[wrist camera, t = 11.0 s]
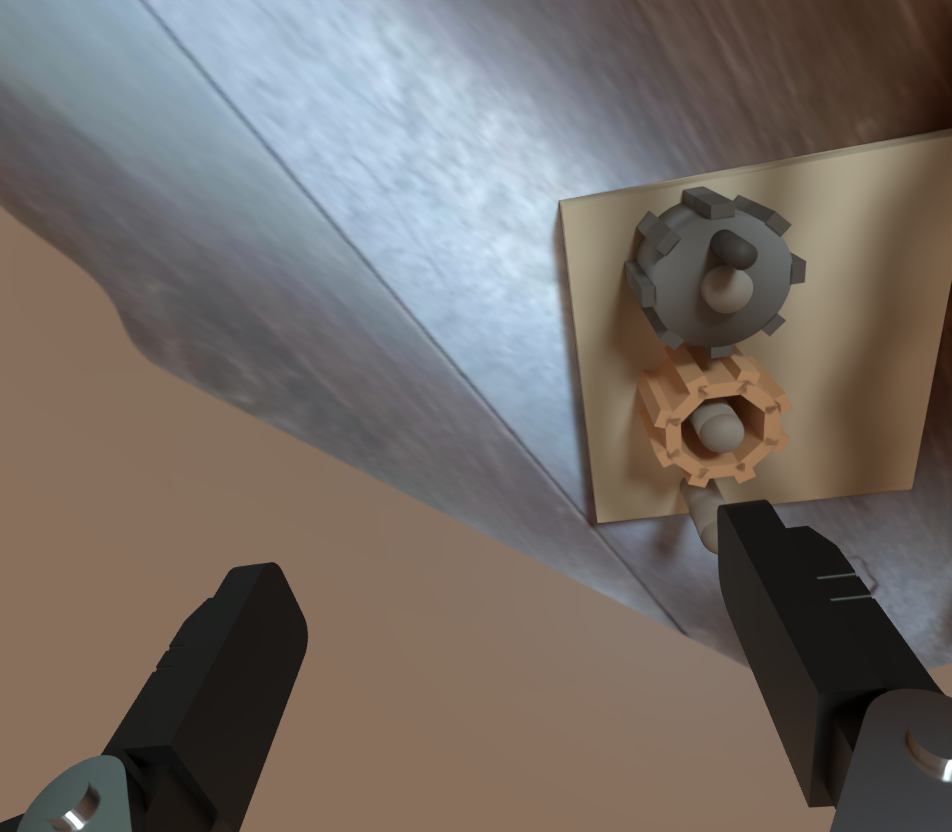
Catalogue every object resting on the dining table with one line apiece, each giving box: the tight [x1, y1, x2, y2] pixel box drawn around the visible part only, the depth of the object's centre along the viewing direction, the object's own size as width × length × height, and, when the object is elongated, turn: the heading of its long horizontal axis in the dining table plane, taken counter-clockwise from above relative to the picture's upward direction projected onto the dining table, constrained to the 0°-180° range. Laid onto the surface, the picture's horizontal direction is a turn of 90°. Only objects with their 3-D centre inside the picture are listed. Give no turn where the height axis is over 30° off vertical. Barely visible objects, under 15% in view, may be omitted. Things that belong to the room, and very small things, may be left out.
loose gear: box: [637, 343, 793, 488], centre depth 30 cm, size 6×6×4 cm
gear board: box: [559, 129, 952, 554], centre depth 29 cm, size 18×19×9 cm
